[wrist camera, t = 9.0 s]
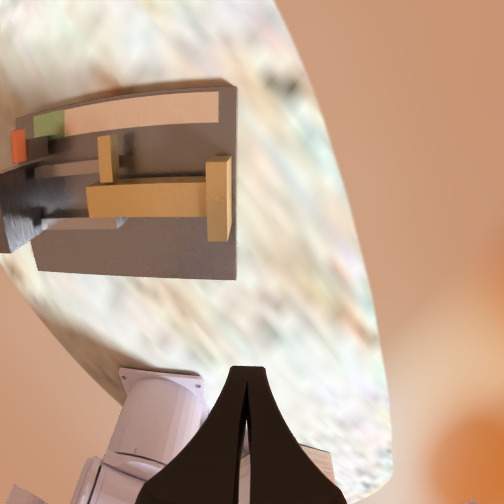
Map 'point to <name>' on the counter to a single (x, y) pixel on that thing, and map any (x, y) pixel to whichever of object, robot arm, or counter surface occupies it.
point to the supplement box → (316, 456)
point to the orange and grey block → (27, 147)
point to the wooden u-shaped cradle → (163, 192)
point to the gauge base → (130, 166)
